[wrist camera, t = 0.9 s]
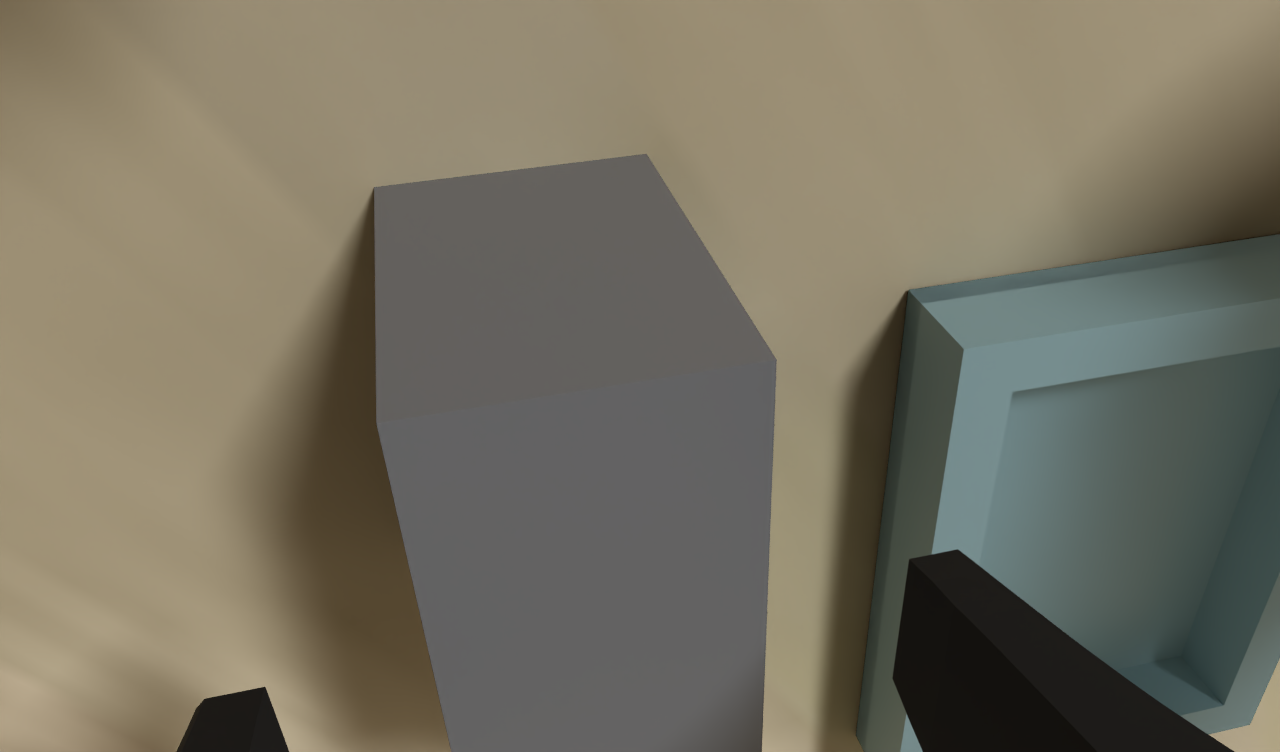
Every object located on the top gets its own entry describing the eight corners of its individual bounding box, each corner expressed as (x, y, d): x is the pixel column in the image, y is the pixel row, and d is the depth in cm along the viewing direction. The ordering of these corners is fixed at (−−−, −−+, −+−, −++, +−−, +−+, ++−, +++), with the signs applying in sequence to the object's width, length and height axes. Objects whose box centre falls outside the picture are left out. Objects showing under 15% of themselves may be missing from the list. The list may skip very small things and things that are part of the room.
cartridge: (645, 152, 15) (775, 359, 10) (660, 512, 19) (759, 786, 14) (373, 185, 15) (376, 423, 10) (446, 551, 19) (474, 852, 14)
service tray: (1359, 221, 19) (1452, 270, 17) (1192, 662, 26) (1248, 727, 24) (908, 290, 18) (964, 349, 16) (855, 737, 24) (890, 812, 23)
